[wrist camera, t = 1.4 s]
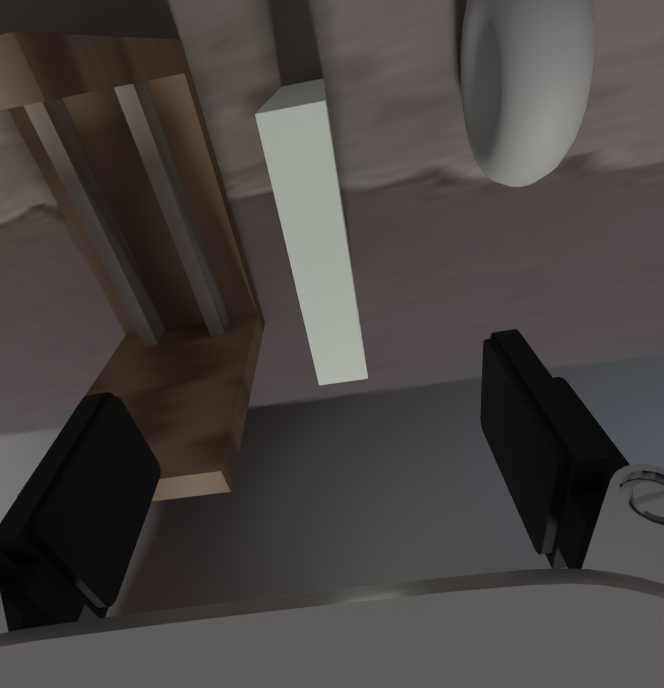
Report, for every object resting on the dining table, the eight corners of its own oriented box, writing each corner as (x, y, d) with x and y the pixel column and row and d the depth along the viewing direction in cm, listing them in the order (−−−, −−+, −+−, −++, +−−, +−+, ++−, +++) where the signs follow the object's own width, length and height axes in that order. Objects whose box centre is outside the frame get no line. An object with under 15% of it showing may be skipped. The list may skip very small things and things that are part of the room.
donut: (447, -41, 22) (525, -94, 13) (518, -59, 21) (643, -125, 13) (454, 168, 27) (513, 221, 19) (511, 156, 27) (595, 205, 19)
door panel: (323, 78, 24) (325, 100, 14) (352, 272, 31) (367, 378, 21) (281, 86, 24) (255, 114, 15) (319, 277, 31) (319, 385, 21)
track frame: (180, 39, 23) (12, 31, 11) (264, 323, 33) (230, 491, 21) (5, 75, 24) (-344, 108, 11) (140, 342, 34) (34, 515, 21)
